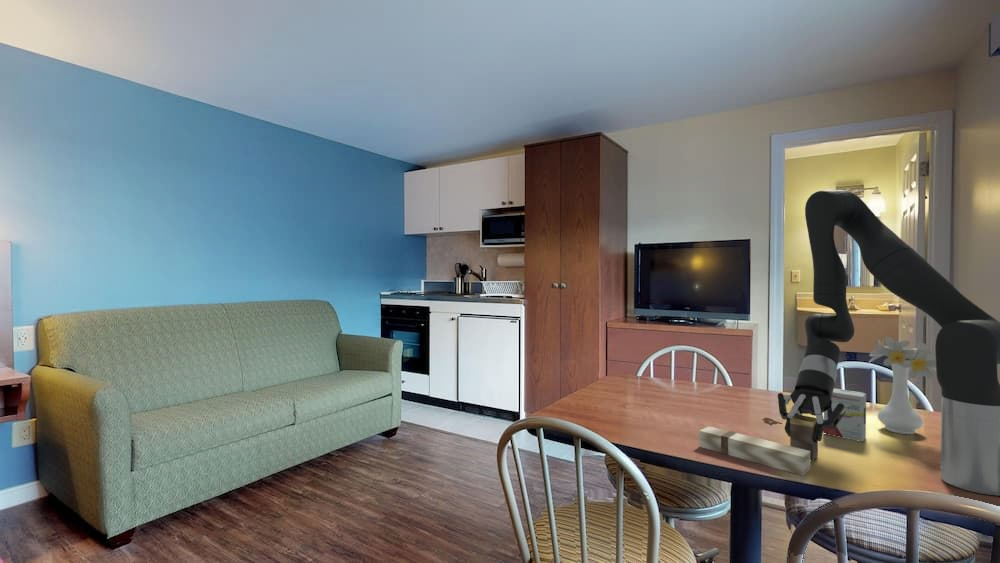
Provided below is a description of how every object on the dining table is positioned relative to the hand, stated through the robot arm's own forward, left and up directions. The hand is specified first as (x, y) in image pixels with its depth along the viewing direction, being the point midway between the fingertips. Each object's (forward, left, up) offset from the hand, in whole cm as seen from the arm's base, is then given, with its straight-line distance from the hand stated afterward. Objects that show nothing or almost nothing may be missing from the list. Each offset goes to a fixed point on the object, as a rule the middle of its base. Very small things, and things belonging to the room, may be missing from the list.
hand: (801, 437), depth 104 cm
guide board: (+8, +8, -5) cm, 12 cm away
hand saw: (+21, -30, -6) cm, 37 cm away
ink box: (-3, -26, -5) cm, 27 cm away
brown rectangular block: (0, -2, -5) cm, 5 cm away
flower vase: (-13, -42, -5) cm, 44 cm away
